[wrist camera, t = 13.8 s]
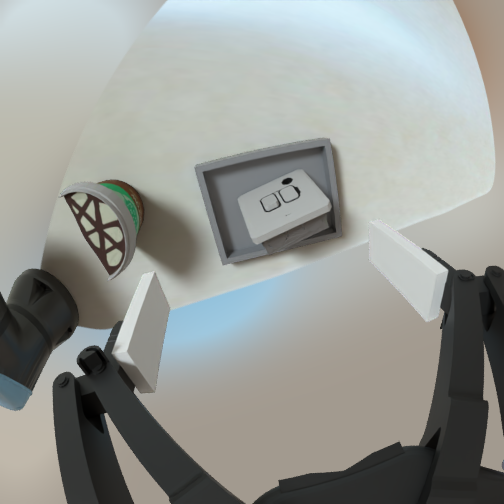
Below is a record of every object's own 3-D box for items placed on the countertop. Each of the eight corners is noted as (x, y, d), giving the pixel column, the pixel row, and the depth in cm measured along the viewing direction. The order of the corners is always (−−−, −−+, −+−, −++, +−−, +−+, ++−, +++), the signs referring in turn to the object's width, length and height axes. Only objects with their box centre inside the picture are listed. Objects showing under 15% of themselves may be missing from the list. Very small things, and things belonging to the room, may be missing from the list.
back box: (222, 257, 40) (222, 265, 38) (196, 164, 34) (194, 167, 32) (335, 229, 40) (342, 236, 38) (323, 137, 34) (329, 138, 32)
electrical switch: (300, 166, 35) (327, 188, 27) (313, 199, 37) (340, 229, 30) (235, 196, 36) (243, 227, 28) (252, 228, 38) (263, 265, 31)
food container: (167, 231, 38) (151, 266, 29) (132, 248, 38) (109, 284, 29) (127, 153, 32) (96, 164, 23) (93, 175, 33) (56, 193, 24)
